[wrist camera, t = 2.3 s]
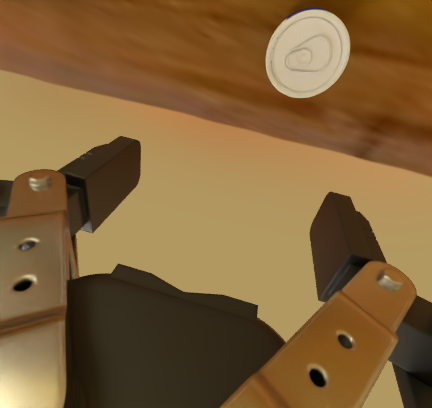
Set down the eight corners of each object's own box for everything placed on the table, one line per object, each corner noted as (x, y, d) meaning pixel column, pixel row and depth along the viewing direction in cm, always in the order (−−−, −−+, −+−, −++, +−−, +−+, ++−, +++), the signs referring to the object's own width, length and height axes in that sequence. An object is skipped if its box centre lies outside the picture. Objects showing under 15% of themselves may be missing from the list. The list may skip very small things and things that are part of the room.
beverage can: (334, 42, 29) (370, 52, 17) (295, 83, 32) (301, 116, 20) (300, 3, 28) (312, -18, 16) (263, 49, 31) (248, 62, 19)
